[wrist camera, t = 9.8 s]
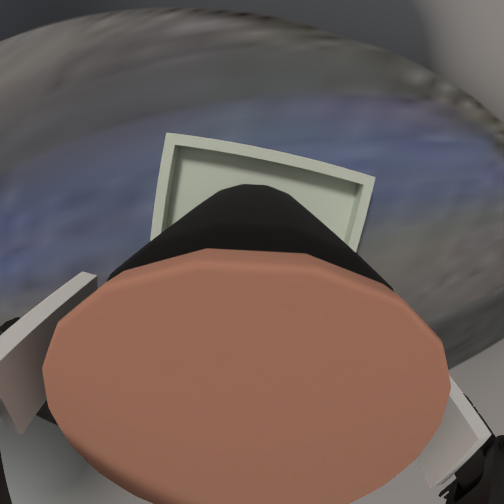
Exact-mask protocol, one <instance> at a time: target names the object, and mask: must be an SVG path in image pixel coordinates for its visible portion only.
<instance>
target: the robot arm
mask: <svg viewBox="0 0 504 504" xmlns="http://www.w3.org/2000/svg"><path fill="white" fill-rule="evenodd" d="M96 290H97V275H93V274H89V273H86V272H81V273H80V274H78V275H77V276H75V277H74V278H73V279H71V280H70V281H69V282H67V283H66V284H64V285H63V286H62V287H60V288H59V289H58V290H56V291H55V292H54V293H52V294H51V295H50V296H48V297H47V298H46V299H45V300H43V301H42V302H41V303H39V304H38V305H37V306H36V307H34V308H33V309H32V310H30V311H29V312H28V313H27V314H25V315H24V316H23V317H22V318H19V317H17V318H14V319H12V320H9V321H7V322H5V323H4V324H3V325H2V326H1V327H0V417H1V419H2V421H3V423H4V424H5V425H6V426H7V427H9V428H11V429H12V430H14V431H15V432H17V433H18V434H20V435H22V434H23V432H24V430H25V429H26V428H27V426H28V425H29V423H30V422H31V421H32V419H33V418H34V416H35V415H36V413H37V412H38V411H39V409H40V408H41V406H42V405H43V404H44V402H45V401H46V399H47V396H46V390H45V384H44V378H43V371H42V367H43V364H44V360H45V357H46V354H47V351H48V348H49V345H50V343H51V340H52V337H53V334H54V331H55V329H56V326H57V324H58V321H60V320H61V319H62V318H63V317H64V316H66V315H67V314H68V313H69V312H70V311H71V310H73V309H74V308H75V307H76V306H78V305H79V304H80V303H81V302H82V301H84V300H85V299H86V298H87V297H88V296H90V295H91V294H92V293H93V292H95V291H96ZM449 377H450V376H449ZM450 383H451V390H450V394H449V398H448V401H447V405H446V408H445V412H444V415H443V418H442V421H441V424H440V427H439V428H438V429H437V431H436V432H435V434H434V435H433V437H432V438H431V440H430V441H429V442H428V444H427V445H426V446H425V448H424V449H423V450H422V452H421V453H420V454H419V456H418V457H417V458H416V459H417V461H418V463H419V465H420V467H421V470H422V472H423V475H424V477H425V479H426V482H427V484H428V486H429V488H431V487H434V486H437V485H440V484H443V483H444V482H446V481H447V480H448V479H449V478H450V477H451V476H452V475H453V474H455V476H456V479H455V480H454V481H453V482H452V483H451V484H450V485H448V486H447V487H446V488H445V489H444V490H443V491H441V492H440V494H439V496H440V497H441V496H442V495H443V494H445V493H446V492H447V491H449V493H448V494H447V495H446V496H444V498H445V499H447V501H446V504H504V435H500V436H497V437H495V435H494V434H493V433H492V431H491V429H490V428H489V427H488V425H487V424H486V422H485V421H484V419H483V418H482V416H481V415H480V414H479V413H478V411H477V409H476V408H475V407H473V404H472V402H471V401H470V400H469V398H468V397H467V396H466V395H465V394H464V393H462V392H461V390H460V389H459V388H458V386H457V385H456V384H455V383H454V381H453V380H452V379H451V377H450ZM0 504H12V502H11V498H10V495H9V491H8V487H7V483H6V479H5V474H4V470H3V465H2V459H1V453H0Z"/></svg>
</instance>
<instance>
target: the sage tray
mask: <svg viewBox="0 0 504 504" xmlns="http://www.w3.org/2000/svg"><path fill="white" fill-rule="evenodd" d="M374 181H375V177H373V176H369V175H366V174H363V173H360V172H356V171H353V170H349V169H346V168H343V167H339V166H335V165H332V164H328V163H324V162H321V161H317V160H313V159H309V158H305V157H301V156H296V155H292V154H288V153H284V152H279V151H274V150H270V149H265V148H260V147H255V146H250V145H245V144H239V143H234V142H228V141H222V140H216V139H210V138H203V137H196V136H189V135H182V134H174V133H166V138H165V143H164V149H163V154H162V160H161V165H160V171H159V178H158V184H157V191H156V198H155V205H154V213H153V221H152V230H151V239H150V241H152V240H153V239H154V238H155V237H157V236H158V235H159V234H161V233H162V232H163V231H164V230H166V229H167V228H168V227H170V226H171V225H172V224H174V223H175V222H176V221H178V220H179V219H180V218H182V217H183V216H184V215H186V214H187V213H188V212H190V211H191V210H192V209H194V208H195V207H196V206H198V205H199V204H200V203H202V202H203V201H205V200H206V199H208V198H209V197H211V196H212V195H214V194H215V193H217V192H218V191H220V190H223V189H226V188H230V187H233V186H237V185H241V184H255V185H268V186H270V187H273V188H275V189H278V190H280V191H283V192H285V193H288V194H289V195H291V196H292V197H293V198H294V199H295V200H297V201H298V202H299V203H300V204H301V205H303V206H304V207H305V208H306V209H307V210H308V211H310V212H311V213H312V214H313V215H314V216H315V217H317V218H318V219H319V220H320V221H321V222H322V223H323V224H325V225H326V226H327V227H328V228H329V229H330V230H331V231H332V232H334V233H335V234H336V235H337V236H338V237H339V238H340V239H341V240H342V241H344V242H345V243H346V244H347V245H348V246H349V247H350V248H351V249H352V250H353V251H355V252H356V250H357V247H358V244H359V240H360V237H361V233H362V229H363V226H364V222H365V218H366V214H367V210H368V206H369V202H370V198H371V194H372V190H373V186H374Z"/></svg>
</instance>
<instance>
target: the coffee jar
mask: <svg viewBox="0 0 504 504" xmlns="http://www.w3.org/2000/svg"><path fill="white" fill-rule="evenodd" d="M42 371H43V378H44V384H45V390H46V396H47V401H48V406H49V409H50V411H51V413H52V415H53V417H54V418H55V420H56V422H57V424H58V425H59V427H60V429H61V430H62V432H63V433H64V435H65V437H66V439H67V440H68V442H69V443H70V444H71V445H72V446H73V448H74V449H75V450H76V451H77V452H78V453H79V454H80V455H81V456H82V457H83V458H84V459H85V460H86V461H87V462H88V463H89V464H90V465H91V466H93V467H94V468H95V469H96V470H97V471H98V472H99V473H100V474H102V475H103V476H105V477H106V478H108V479H109V480H111V481H112V482H114V483H115V484H117V485H119V486H120V487H122V488H123V489H125V490H127V491H128V492H130V493H132V494H133V495H135V496H137V497H140V498H142V499H144V500H147V501H149V502H151V503H153V504H348V503H351V502H353V501H355V500H357V499H359V498H361V497H363V496H365V495H367V494H369V493H370V492H372V491H374V490H376V489H378V488H380V487H381V486H383V485H385V484H386V483H387V482H389V481H390V480H391V479H392V478H394V477H395V476H396V475H397V474H399V473H400V472H401V471H402V470H403V469H405V468H406V467H407V466H408V465H409V464H411V463H412V462H413V461H414V460H415V459H416V458H417V457H418V456H419V454H420V453H421V452H422V450H423V449H424V448H425V446H426V445H427V444H428V442H429V441H430V440H431V438H432V437H433V435H434V434H435V432H436V431H437V429H438V428H439V427H440V424H441V421H442V418H443V415H444V412H445V408H446V405H447V401H448V398H449V394H450V390H451V383H450V377H449V372H448V367H447V362H446V357H445V353H444V349H443V344H442V341H441V339H440V338H439V337H438V336H437V335H436V334H435V333H434V332H433V331H432V329H431V328H430V327H429V326H428V325H427V324H426V323H425V322H424V321H423V320H422V319H421V318H420V317H419V316H418V315H417V314H416V312H415V311H414V310H413V309H412V308H411V307H410V306H409V305H408V304H407V303H406V302H405V301H404V300H403V299H402V298H401V297H400V296H399V295H397V294H396V293H395V292H394V291H393V288H392V287H391V286H390V285H389V284H388V283H387V282H386V281H385V280H384V279H383V278H382V277H381V276H380V275H379V274H378V273H377V272H376V271H375V270H373V269H372V268H371V267H370V266H369V265H368V264H367V263H366V262H365V261H364V260H363V259H362V258H361V257H360V256H359V255H358V254H357V253H356V252H355V251H353V250H352V249H351V248H350V247H349V246H348V245H347V244H346V243H345V242H344V241H342V240H341V239H340V238H339V237H338V236H337V235H336V234H335V233H334V232H332V231H331V230H330V229H329V228H328V227H327V226H326V225H325V224H323V223H322V222H321V221H320V220H319V219H318V218H317V217H315V216H314V215H313V214H312V213H311V212H310V211H308V210H307V209H306V208H305V207H304V206H303V205H301V204H300V203H299V202H298V201H297V200H295V199H294V198H293V197H292V196H291V195H289V194H288V193H285V192H283V191H280V190H278V189H275V188H273V187H270V186H268V185H255V184H241V185H237V186H233V187H230V188H226V189H223V190H220V191H218V192H217V193H215V194H214V195H212V196H211V197H209V198H208V199H206V200H205V201H203V202H202V203H200V204H199V205H198V206H196V207H195V208H194V209H192V210H191V211H190V212H188V213H187V214H186V215H184V216H183V217H182V218H180V219H179V220H178V221H176V222H175V223H174V224H172V225H171V226H170V227H168V228H167V229H166V230H164V231H163V232H162V233H161V234H159V235H158V236H157V237H155V238H154V239H153V240H152V241H150V242H149V243H148V244H147V245H145V246H144V247H143V248H142V249H140V250H139V251H138V252H137V253H135V254H134V255H133V256H132V257H130V258H129V259H128V260H127V261H126V262H124V263H123V264H122V265H121V266H120V267H118V268H117V269H116V270H115V271H114V272H112V273H111V275H110V276H109V278H108V280H107V282H106V283H105V284H103V285H102V286H101V287H100V288H98V289H97V290H96V291H95V292H93V293H92V294H91V295H90V296H88V297H87V298H86V299H85V300H84V301H82V302H81V303H80V304H79V305H78V306H76V307H75V308H74V309H73V310H71V311H70V312H69V313H68V314H67V315H66V316H64V317H63V318H62V319H61V320H60V321H58V324H57V326H56V329H55V331H54V334H53V337H52V340H51V343H50V345H49V348H48V351H47V354H46V357H45V360H44V364H43V367H42Z"/></svg>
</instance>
